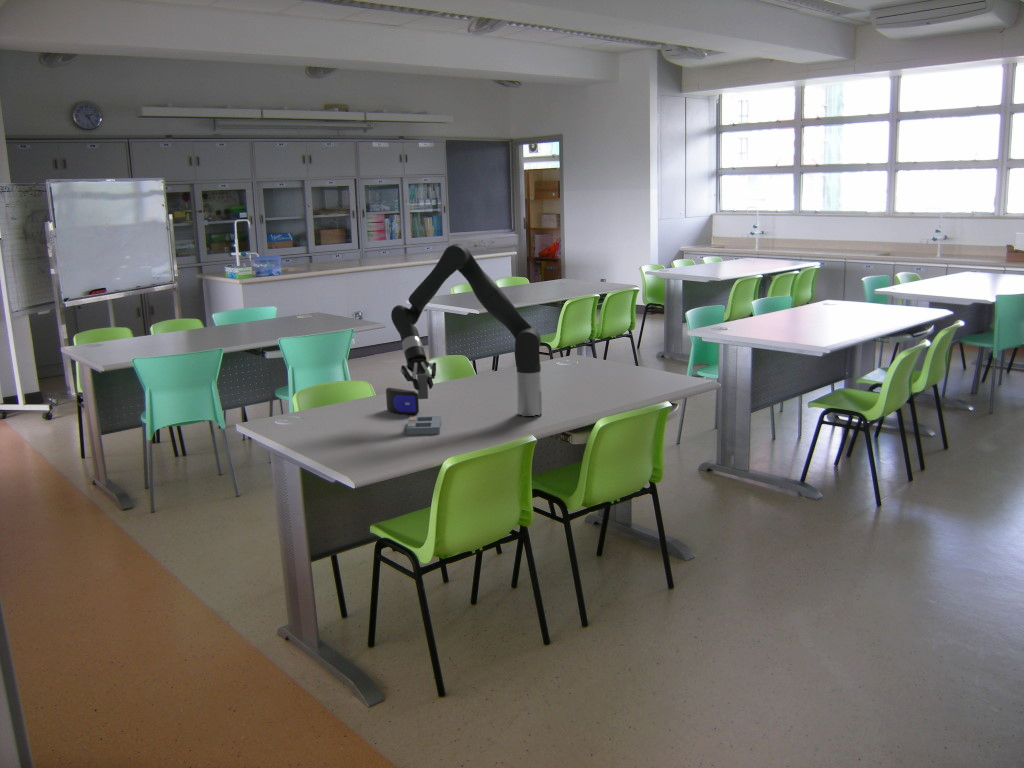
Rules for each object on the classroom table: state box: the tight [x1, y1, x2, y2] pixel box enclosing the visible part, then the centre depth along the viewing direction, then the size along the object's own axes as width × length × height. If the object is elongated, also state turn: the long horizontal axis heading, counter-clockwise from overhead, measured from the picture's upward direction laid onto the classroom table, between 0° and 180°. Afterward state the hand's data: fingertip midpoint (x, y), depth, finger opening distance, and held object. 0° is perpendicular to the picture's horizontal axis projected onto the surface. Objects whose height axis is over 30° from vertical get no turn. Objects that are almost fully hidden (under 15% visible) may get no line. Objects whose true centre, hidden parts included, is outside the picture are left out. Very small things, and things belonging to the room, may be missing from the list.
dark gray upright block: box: [416, 373, 429, 400], centre depth 311 cm, size 4×4×9 cm
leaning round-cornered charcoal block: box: [385, 387, 420, 416], centre depth 333 cm, size 16×5×9 cm, turn 56°
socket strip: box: [405, 415, 442, 436], centre depth 311 cm, size 12×16×3 cm
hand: (424, 388), depth 310 cm, fingers closed on dark gray upright block, 4 cm apart
